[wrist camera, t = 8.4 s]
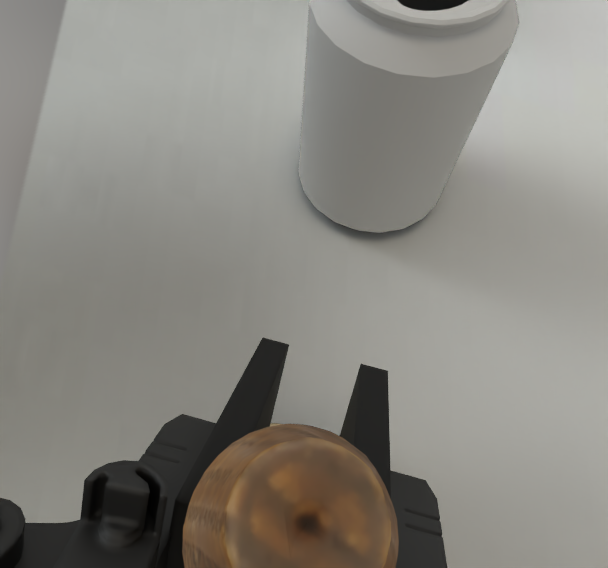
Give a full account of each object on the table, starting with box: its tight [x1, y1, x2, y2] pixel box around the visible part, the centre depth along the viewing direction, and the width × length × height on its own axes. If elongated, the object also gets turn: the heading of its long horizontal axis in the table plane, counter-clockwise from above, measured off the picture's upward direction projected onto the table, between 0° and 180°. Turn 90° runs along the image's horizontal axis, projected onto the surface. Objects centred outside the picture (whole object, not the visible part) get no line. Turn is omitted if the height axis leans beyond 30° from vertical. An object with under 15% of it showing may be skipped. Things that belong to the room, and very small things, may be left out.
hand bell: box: [182, 423, 399, 568], centre depth 11 cm, size 8×8×16 cm
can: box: [298, 0, 519, 233], centre depth 22 cm, size 8×8×12 cm
